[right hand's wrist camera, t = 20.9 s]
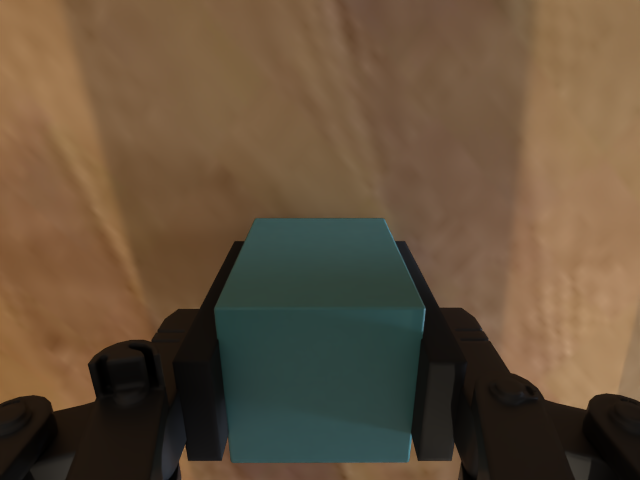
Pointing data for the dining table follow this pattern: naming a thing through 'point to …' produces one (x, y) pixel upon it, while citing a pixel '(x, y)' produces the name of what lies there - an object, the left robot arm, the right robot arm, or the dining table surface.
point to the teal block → (319, 343)
